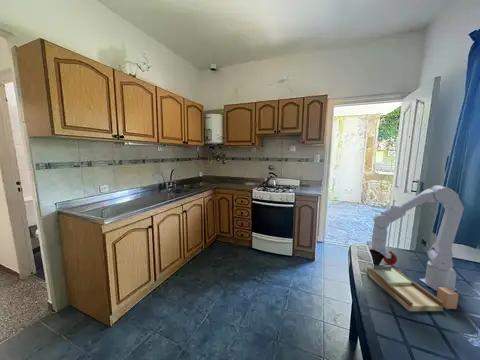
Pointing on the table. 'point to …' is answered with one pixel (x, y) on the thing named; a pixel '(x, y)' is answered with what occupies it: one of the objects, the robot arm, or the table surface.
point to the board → (409, 294)
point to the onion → (391, 259)
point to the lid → (390, 275)
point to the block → (448, 297)
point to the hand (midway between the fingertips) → (376, 265)
